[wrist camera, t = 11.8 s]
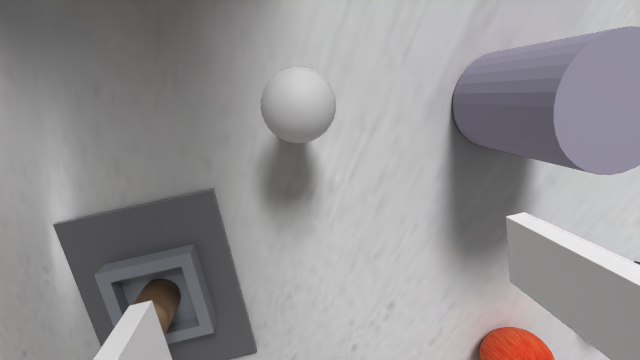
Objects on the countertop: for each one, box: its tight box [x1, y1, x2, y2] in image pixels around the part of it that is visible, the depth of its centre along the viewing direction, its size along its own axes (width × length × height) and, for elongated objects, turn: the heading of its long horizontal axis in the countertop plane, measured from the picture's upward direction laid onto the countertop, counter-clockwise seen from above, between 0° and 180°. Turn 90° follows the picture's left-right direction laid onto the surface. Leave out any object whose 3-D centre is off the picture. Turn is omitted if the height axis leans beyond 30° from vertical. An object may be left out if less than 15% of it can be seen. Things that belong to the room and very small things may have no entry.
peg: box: [133, 278, 181, 337], centre depth 35 cm, size 4×4×10 cm
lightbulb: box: [261, 67, 336, 143], centre depth 32 cm, size 6×6×11 cm
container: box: [453, 26, 640, 175], centre depth 33 cm, size 10×10×15 cm
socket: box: [53, 189, 257, 360], centre depth 39 cm, size 20×16×3 cm
